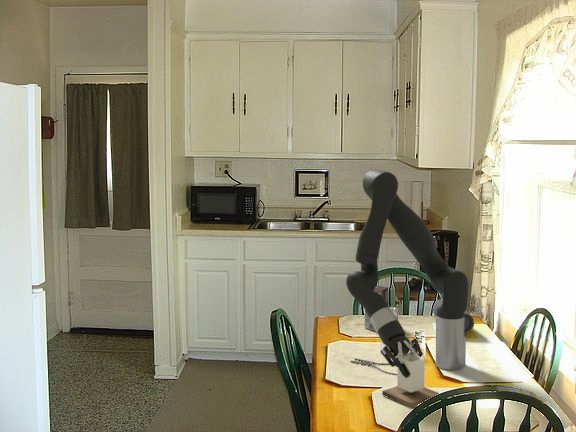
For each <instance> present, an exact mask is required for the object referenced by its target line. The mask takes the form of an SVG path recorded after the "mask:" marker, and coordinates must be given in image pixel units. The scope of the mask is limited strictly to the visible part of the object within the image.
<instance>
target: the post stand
mask: <svg viewBox="0 0 576 432" xmlns="http://www.w3.org/2000/svg"><path fill="white" fill-rule="evenodd" d="M439 393H440V392H438V391H435V390H432V389H430V388H427V387H425V386H424V388H423V389H420V390H417V391H414V392H409V391H406V390H404V389H401V388H399V387H398V385H397V386H394V387H391V388H390V387H389V388H387V389H385V390H382V394H381V395H385V396H387V397H388V398H387V399H389V398H391V399H393V400H395V401H394V402H396V401H397V402H396V403H398V402H399V403H398V404H400V403H401V404H400V405H403V406H405V405H406V406H405V407H407V406H408V408H410V407H411V408H410V409H414V408H416V407H415V406H417V405H418V404H420V403H422V402H424V401H425V400H427V399H429V398H431V397H433V396H435V395H437V394H439ZM391 399H390V400H391ZM393 400H392V401H393ZM413 407H414V408H413ZM417 407H418V406H417Z"/></svg>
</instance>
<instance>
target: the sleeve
mask: <svg viewBox="0 0 576 432" xmlns="http://www.w3.org/2000/svg"><path fill="white" fill-rule="evenodd" d="M402 358H403V364H405V365H406V367H407V369H408V370H409V372H410V376H409V377H407V378H405V377H404V376H403V375H402V373H401V371H400V370H399V368H398V367H397V374H398V375H397V386H398V387H399V388H401V389H404V390H406V391H409V392H414V391H417V390H420V389H423V388H424V387H425V385H426V384H425V380H426V379H425V377H426V376H425V373H426V368H425V367H426V364H425V363H426V359H425V358H423V357H422V356H421V357H418V356H414V355H406V356H405V355H403V357H402ZM398 361H399V359H398Z"/></svg>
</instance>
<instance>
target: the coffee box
mask: <svg viewBox="0 0 576 432" xmlns="http://www.w3.org/2000/svg"><path fill="white" fill-rule="evenodd" d="M374 292H375V293H378V294H380V295H382V296H383V298H384V299H385V301H386V303H387V304H388V306H389V305H390V304H389V302H390V301H389V295H390V294H389V287H388V286H382V285H377V286H376V288H375V289H374ZM389 307H390V306H389ZM364 329H365V330H369V331H370V330H371V331H375V332H376V330H375V328H374V326H373V324H372V322H371V320H370V318H369V316H368V314H367V313H366V311H365V310H364Z"/></svg>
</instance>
